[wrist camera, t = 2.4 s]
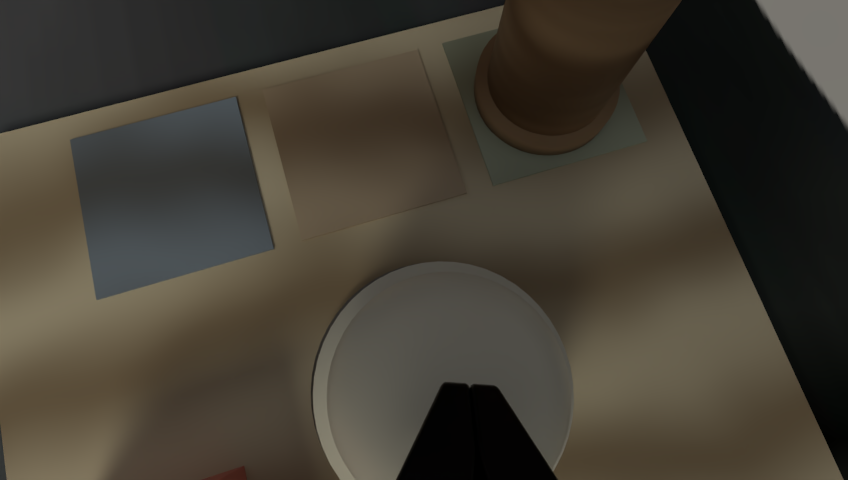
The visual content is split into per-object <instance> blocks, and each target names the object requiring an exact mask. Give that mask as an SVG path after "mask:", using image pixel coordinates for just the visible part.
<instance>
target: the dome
mask: <svg viewBox="0 0 848 480" xmlns="http://www.w3.org/2000/svg"><path fill="white" fill-rule="evenodd" d="M444 382H456V383H466V384H468V386H469V387H470V386H471V385H472V384H486V385H495V386H497V387H498V388H499V390H500V391H501V392H502V394H503V396H504V397H505V399H506V400H507V402H508V403H509V405H510V406H511V408H512V409H513V411H514V412H515V414H516V416H517V417H518V419H519V420H520V422H521V423H522V425H523V426H524V428H525V429H526V431H527V432H528V434H529V436H530V437H531V439H532V440H533V442H534V443H535V445H536V446H537V448H538V449H539V451H540V452H541V454H542V456H543V457H544V459H545V460H546V462H547V463H548V465H549V466H550V468H551V469H552V471H554V470H555V468H556V466H557V464H558V462H559V460H560V458H561V456H562V454H563V451H564V449H565V446H566V443H567V440H568V437H569V433H570V428H571V424H572V418H573V407H574V391H573V379H572V373H571V367H570V364H569V360H568V357H567V354H566V350H565V348H564V346H563V343H562V341H561V339H560V336H559V334H558V332H557V331H556V329H555V327H554V326H553V324H552V322H551V321H550V319H549V318H548V316H547V315H546V314H545V313H544V311H543V310H542V309H541V307H540V306H539V305H538V304H537V303H536V302H535V301H534V300H533V299H532V298H531V297H530V296H529V295H528V294H527V293H526V292H524V291H523V290H522V289H520V288H519V287H518V286H517V285H515V284H514V283H512V282H511V281H509V280H507V279H506V278H504V277H502V276H501V275H498V274H496V273H494V272H491V271H489V270H487V269H484V268H481V267H477V266H474V265H470V264H465V263H458V262H443V261H437V262H426V263H420V264H415V265H411V266H407V267H404V268H401V269H398V270H396V271H393V272H391V273H389V274H387V275H385V276H383V277H381V278H379V279H377V280H376V281H374V282H373V283H371V284H370V285H369V286H367V287H366V288H364V289H363V290H362V291H361V292H360V293H359V294H357V295H356V296H355V297H354V298H353V299H352V300H351V301H350V302H349V303H348V304H347V306H346V307H345V308H344V309H343V310H342V311H341V313H340V314H339V316H338V317H337V319H336V320H335V322H334V323H333V325H332V326H331V328H330V330H329V332H328V334H327V336H326V338H325V340H324V342H323V345H322V348H321V351H320V354H319V357H318V360H317V365H316V370H315V375H314V384H313V409H314V417H315V423H316V428H317V432H318V435H319V439H320V442H321V445H322V448H323V450H324V452H325V454H326V456H327V459H328V461H329V463H330V465H331V466H332V468H333V469H334V471H335V473H336V474H337V476H338V477H339V479H340V480H396V478H397V476H398V474H399V472H400V470H401V468H402V466H403V464H404V462H405V460H406V457H407V455H408V453H409V451H410V449H411V447H412V445H413V443H414V441H415V439H416V436H417V434H418V432H419V430H420V428H421V426H422V424H423V422H424V420H425V418H426V416H427V413H428V411H429V409H430V407H431V405H432V403H433V401H434V399H435V397H436V395H437V392H438V390H439V388H440V386H441V385H442V384H443V383H444Z"/></svg>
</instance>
